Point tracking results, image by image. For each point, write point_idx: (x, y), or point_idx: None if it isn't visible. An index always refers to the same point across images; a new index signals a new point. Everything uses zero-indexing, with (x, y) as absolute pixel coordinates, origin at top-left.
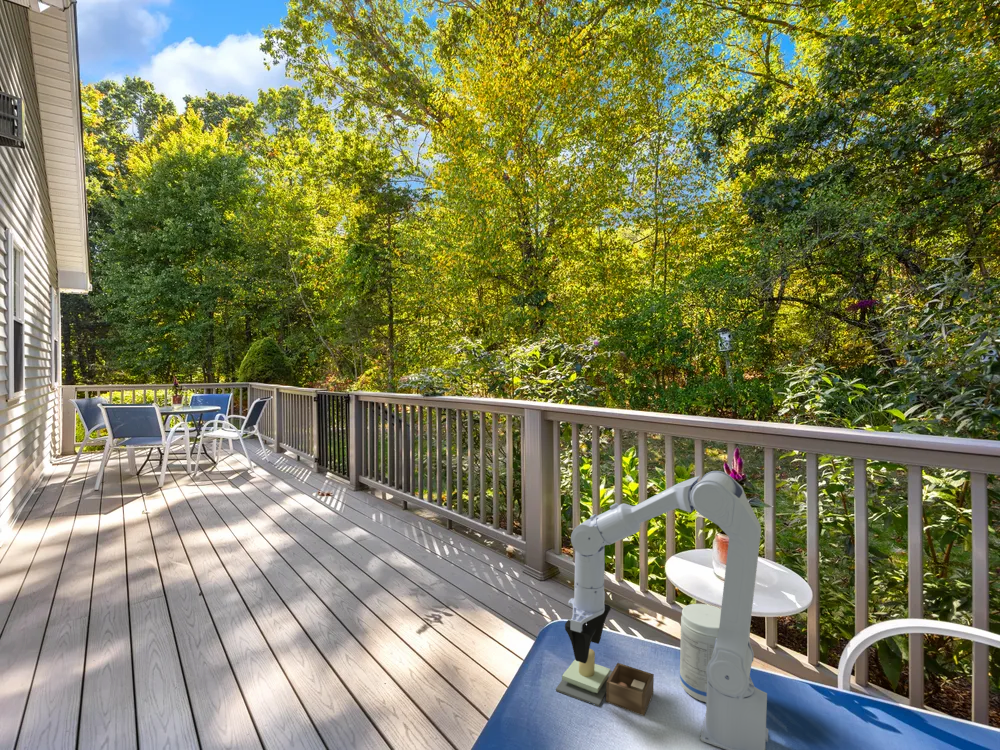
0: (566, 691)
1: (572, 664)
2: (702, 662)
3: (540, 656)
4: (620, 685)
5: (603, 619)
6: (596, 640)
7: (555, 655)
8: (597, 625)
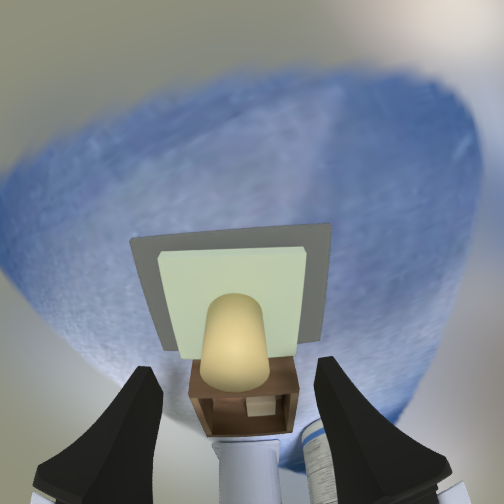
0: (143, 272)
1: (249, 260)
2: (309, 489)
3: (284, 87)
4: (200, 413)
5: (336, 488)
6: (317, 390)
7: (326, 138)
8: (336, 447)
